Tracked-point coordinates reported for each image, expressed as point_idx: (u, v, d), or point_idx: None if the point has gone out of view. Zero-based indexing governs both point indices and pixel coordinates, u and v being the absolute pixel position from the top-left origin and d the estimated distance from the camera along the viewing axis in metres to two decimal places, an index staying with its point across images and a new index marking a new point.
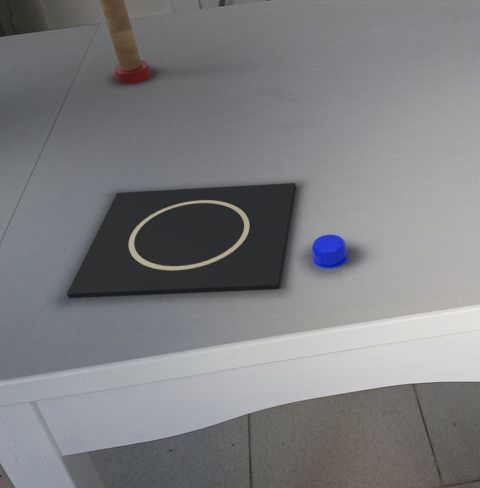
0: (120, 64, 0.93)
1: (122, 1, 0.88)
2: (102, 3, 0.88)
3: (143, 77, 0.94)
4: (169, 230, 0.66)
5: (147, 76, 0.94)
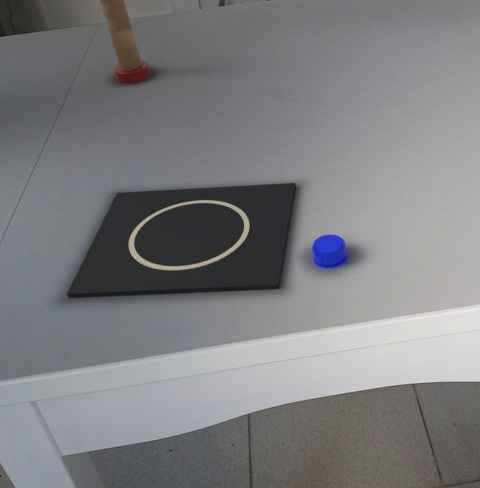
0: (120, 64, 0.93)
1: (122, 1, 0.88)
2: (102, 3, 0.88)
3: (143, 77, 0.94)
4: (169, 230, 0.66)
5: (147, 76, 0.94)
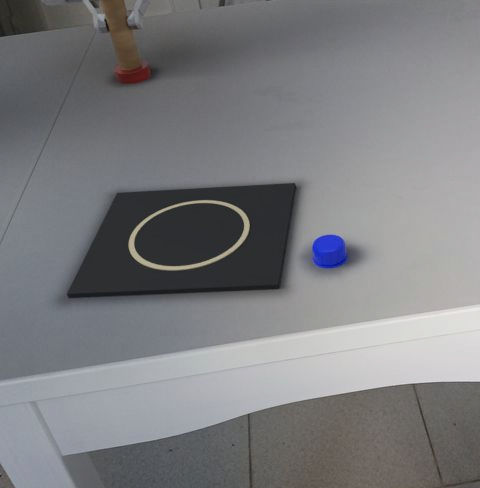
0: (120, 64, 0.93)
1: (122, 1, 0.88)
2: (102, 3, 0.88)
3: (143, 77, 0.94)
4: (169, 230, 0.66)
5: (147, 76, 0.94)
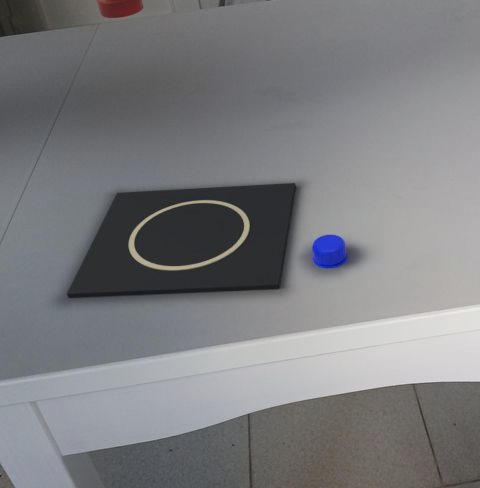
0: None
1: None
2: None
3: (133, 8, 0.73)
4: (169, 230, 0.66)
5: (139, 8, 0.74)
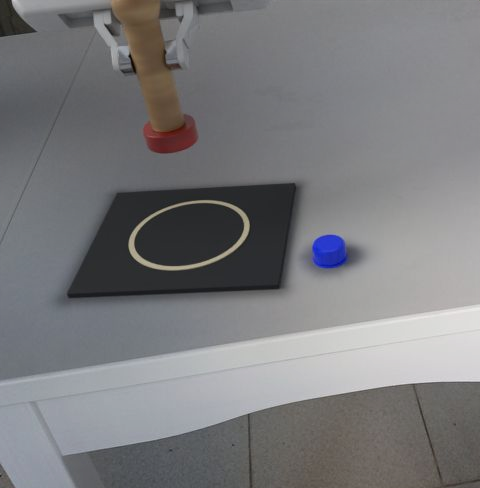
0: (152, 123, 0.60)
1: (158, 26, 0.55)
2: (126, 30, 0.55)
3: (187, 142, 0.60)
4: (169, 230, 0.66)
5: (193, 140, 0.61)
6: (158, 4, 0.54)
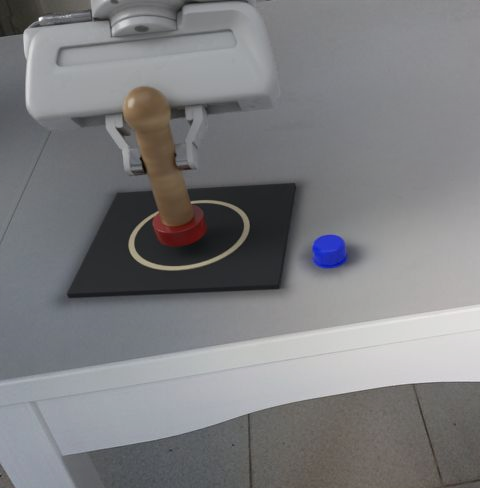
0: (162, 217, 0.61)
1: (168, 132, 0.56)
2: (137, 136, 0.56)
3: (196, 235, 0.62)
4: None
5: (202, 232, 0.62)
6: (169, 112, 0.55)
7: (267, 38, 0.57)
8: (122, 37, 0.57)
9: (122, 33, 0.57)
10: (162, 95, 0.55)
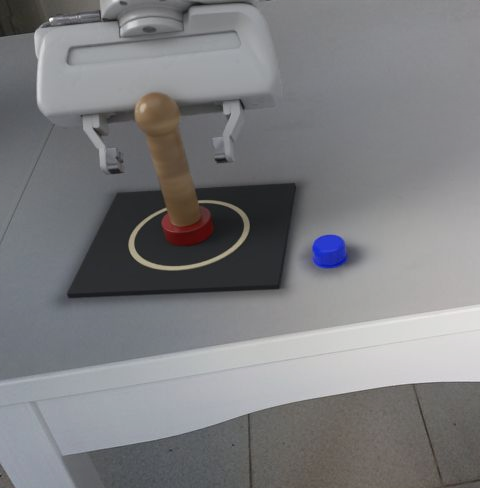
0: (171, 218, 0.64)
1: (178, 136, 0.59)
2: (148, 140, 0.59)
3: (204, 235, 0.64)
4: None
5: (209, 232, 0.65)
6: (179, 117, 0.58)
7: (270, 39, 0.59)
8: (130, 37, 0.59)
9: (130, 33, 0.59)
10: (172, 100, 0.57)
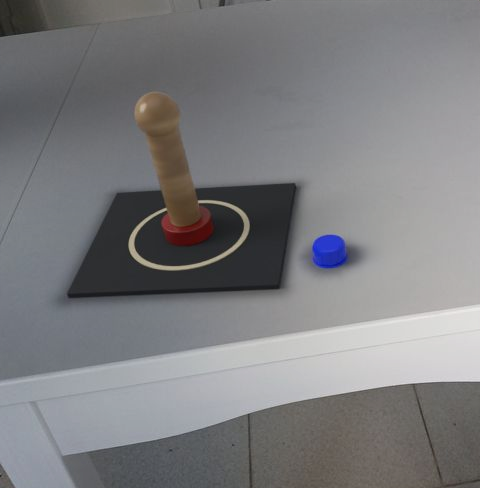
0: (171, 218, 0.64)
1: (178, 136, 0.59)
2: (148, 140, 0.59)
3: (204, 235, 0.64)
4: None
5: (209, 232, 0.65)
6: (179, 117, 0.58)
7: None
8: None
9: None
10: (172, 100, 0.57)
